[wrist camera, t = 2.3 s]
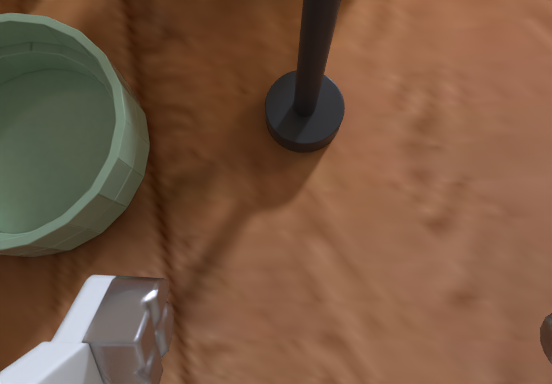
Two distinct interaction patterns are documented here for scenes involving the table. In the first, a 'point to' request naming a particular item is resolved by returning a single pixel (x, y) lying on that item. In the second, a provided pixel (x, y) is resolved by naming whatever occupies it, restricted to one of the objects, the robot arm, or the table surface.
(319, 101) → the dark post stand
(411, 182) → the table surface
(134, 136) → the bowl
